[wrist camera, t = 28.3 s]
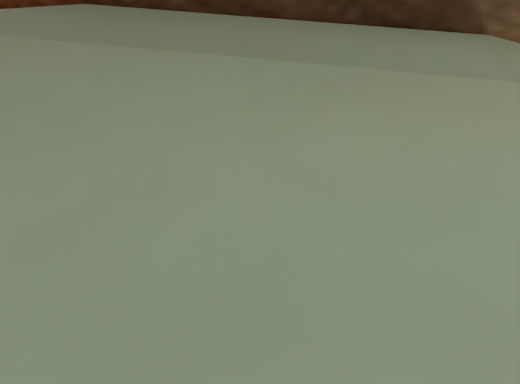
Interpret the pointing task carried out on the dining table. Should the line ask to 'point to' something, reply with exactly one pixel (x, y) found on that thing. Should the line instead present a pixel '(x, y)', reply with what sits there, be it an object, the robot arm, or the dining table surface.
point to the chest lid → (253, 221)
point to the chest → (271, 39)
